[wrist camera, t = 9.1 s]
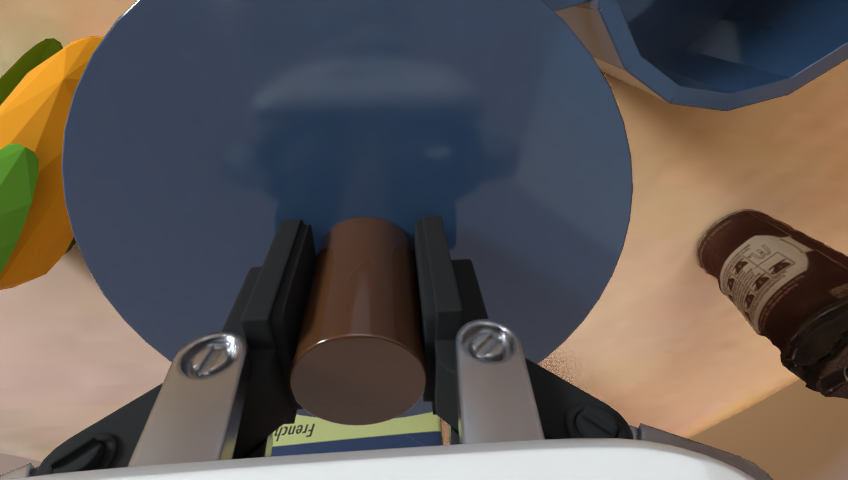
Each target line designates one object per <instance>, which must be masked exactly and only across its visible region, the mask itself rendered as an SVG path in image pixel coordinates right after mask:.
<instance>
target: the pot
mask: <svg viewBox="0 0 848 480" xmlns="http://www.w3.org/2000/svg"><path fill="white" fill-rule="evenodd" d="M541 1H543V2H544V3H545V4H546V5H547V6H548V7H549V8H550V9H552V10H553V11H554V12H555V13H556V14H557V15H558V16H559V17H560V18H562V19H563V20H564V21H565V22H566V24H567V25H568V26H569V27H570V28H571V30H572V31H573V32H574V33H575V35H576V36H577V37H578V38H579V39H580V41H581V42H582V43H583V44H584V46H585V47H586V48H587V49H588V51H589V52H590V53H591V54H592V56H593V58H594V60H595V61H596V63H597V65H598V66H599V68H600V70H601V71H603V72H605V73H607V74H609V75H611V76H613V77H615V78H618V79H620V80H622V81H624V82H626V83H628V84H630V85H632V86H634V87H636V88H638V89H640V90H643V91H645V92H647V93H649V94H651V95H653V96H655V97H657V98H659V99H661V100H663V101H665V102H668V103H670V104H676V105H683V106H691V107H698V108H705V109H713V110H720V111H729V110H732V109H736V108H740V107H744V106H747V105H751V104H755V103H759V102H762V101H766V100H770V99H774V98H777V97H781V96H785V95H789V94H790V93H792V92H794V91H796V90H797V89H799V88H801V87H802V86H804V85H805V84H807V83H809V82H810V81H812V80H814V79H815V78H817V77H819V76H820V75H822V74H823V73H825V72H827V71H828V70H830V69H832V68H833V67H835V66H837V65H838V64H840V63H841V62H843V61H845V60H846V59H848V0H541Z"/></svg>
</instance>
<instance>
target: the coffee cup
mask: <svg viewBox="0 0 848 480" xmlns="http://www.w3.org/2000/svg"><path fill="white" fill-rule="evenodd" d="M697 259H698V264H699V266H700V267H702V268H703V269H704V271H705V272H706V273H708V274H711V275H713V276H715V277H716V278H717V279H718V283H719V288H720V290H721V292H722V293H723V294H724V295H726V296H727V297H728V298H729V299H730V300H731V301H732V302H733V304H734V305H735V306H736V307H737V308H738V310H739V311H740V312H741V313H742V315H743V316H744V317H745V319H746V320H747V321H748V323H749V324H750V325H751V327H752V328H753V329H754V331H755V332H756V333H757V334H758V335H761V336H765V337H767V338H768V339H769V340H771V342H772V344H773V345H775V346H776V347H777V348H779V350H780V351H781V355H780V356H781V362H782V364H783V366H785V367H786V368H787V369H788V370H790V371H791V372H792V373H794V374H795V375H796V376H798V377H799V378H800V379H802V380H803V381H805V382H806V387H808V388H809V389H811V390H814V391H817V392H820V393H821V394H822V395H824V396H825V397H840V398H846V399H848V256H846V255H844V254H843V253H841V252H838V251H836V250H834V249H832V248H831V247H829V246H827V245H825V244H824V243H822V242H820V241H817V240H815V239H813V238H811V237H809V236H808V235H806V234H804V233H802V232H800V231H798V230H795V229H793V228H792V227H791V226H789V225H788V224H786V223H784V222H782V221H779V220H775V219H773V218H772V217H770V216H768V215H766V214H764V213H762V212H759V211H755V210H746V209H745V210H740V211H738V212H735V213H732V214H730V215H728V216H726V217H724V218H722V219H721V220H719V221H718V222H717V223H715V224H714V225H713V226H712V227H711V228H710V229H709V230H708V231H707V233H706V234H705V235H704V236H703V237H702V239H701V241H700V243H699V246H698V249H697Z"/></svg>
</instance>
